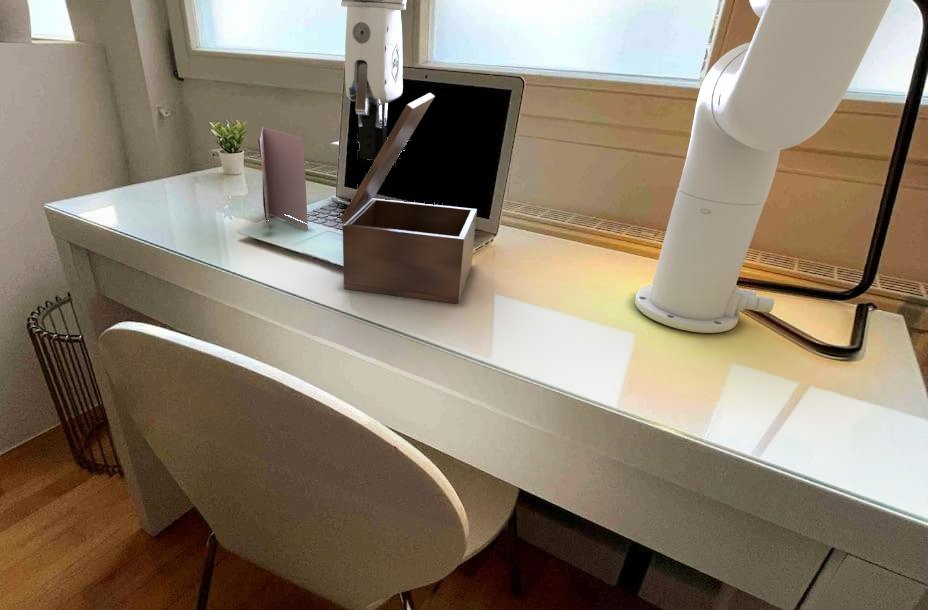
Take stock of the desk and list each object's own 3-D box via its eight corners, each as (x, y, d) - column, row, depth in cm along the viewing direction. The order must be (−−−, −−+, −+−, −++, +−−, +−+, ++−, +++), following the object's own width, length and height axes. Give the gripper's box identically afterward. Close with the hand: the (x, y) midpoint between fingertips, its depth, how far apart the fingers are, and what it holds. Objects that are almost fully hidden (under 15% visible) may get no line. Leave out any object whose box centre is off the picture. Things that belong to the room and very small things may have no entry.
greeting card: (265, 214, 103) (257, 127, 95) (306, 213, 104) (302, 127, 97) (262, 235, 93) (253, 140, 86) (308, 234, 95) (303, 140, 87)
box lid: (435, 96, 75) (430, 92, 75) (412, 108, 63) (406, 104, 63) (374, 196, 83) (369, 193, 83) (345, 223, 72) (339, 220, 72)
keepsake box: (471, 266, 85) (477, 209, 81) (458, 304, 74) (464, 239, 69) (371, 254, 88) (372, 197, 84) (343, 288, 76) (342, 225, 72)
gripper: (388, -9, 58) (385, 174, 67) (419, -2, 71) (413, 150, 80) (319, -12, 59) (325, 168, 68) (361, -5, 72) (361, 146, 81)
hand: (372, 158), depth 74 cm, fingers closed
